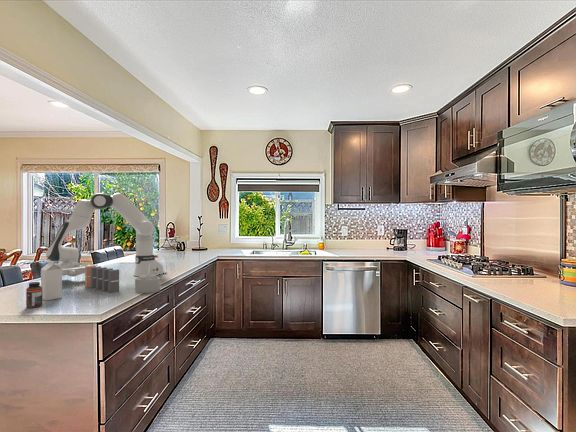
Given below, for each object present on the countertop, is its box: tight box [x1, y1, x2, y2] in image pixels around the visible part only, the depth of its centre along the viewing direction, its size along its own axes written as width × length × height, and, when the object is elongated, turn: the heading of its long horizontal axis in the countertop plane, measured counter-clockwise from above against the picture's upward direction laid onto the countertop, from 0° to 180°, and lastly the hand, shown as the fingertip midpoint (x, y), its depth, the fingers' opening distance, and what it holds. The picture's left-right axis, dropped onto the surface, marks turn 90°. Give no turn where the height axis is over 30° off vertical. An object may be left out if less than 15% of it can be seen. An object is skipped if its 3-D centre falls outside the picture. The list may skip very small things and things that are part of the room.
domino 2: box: [95, 267, 108, 291], centre depth 191 cm, size 2×5×12 cm, turn 146°
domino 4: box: [107, 269, 120, 294], centre depth 184 cm, size 2×5×12 cm, turn 146°
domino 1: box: [90, 265, 102, 289], centre depth 195 cm, size 2×5×12 cm, turn 146°
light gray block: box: [134, 274, 161, 294], centre depth 187 cm, size 10×13×9 cm
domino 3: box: [101, 268, 114, 292], centre depth 187 cm, size 2×5×12 cm, turn 146°
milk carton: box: [40, 260, 63, 302], centre depth 168 cm, size 7×7×19 cm
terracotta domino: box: [84, 264, 97, 288], centre depth 198 cm, size 2×5×12 cm, turn 147°
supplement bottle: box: [25, 281, 43, 309], centre depth 153 cm, size 6×6×11 cm
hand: (83, 271), depth 202 cm, fingers open, 8 cm apart
